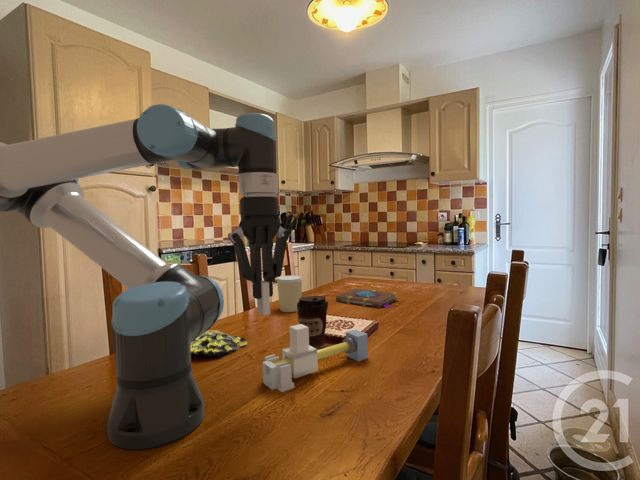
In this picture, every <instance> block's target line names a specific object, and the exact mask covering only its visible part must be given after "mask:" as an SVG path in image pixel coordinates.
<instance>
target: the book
mask: <svg viewBox="0 0 640 480" xmlns="http://www.w3.org/2000/svg"><path fill="white" fill-rule="evenodd" d="M398 295H399V293H398V292H396V291H394V292H393V291H392V292H388V291H382V290H381V291H380V290H378V289H377V288H372V289H365V288H359V287H352V288H351V289H349V290H347V291H345V292H342V293H340V294H337V295H336V296H335V302H336V303H337V302H339V303H343V304H344V303H345V304H347V305H356V306H357V305H358V306H362V307H364V308H365V307H370V308H376V309H382V308H385V309H391V308H394V306H392V305H390V304H391V303H393V302H396V301H398V299H399V298H397V297H396V296H398Z"/></svg>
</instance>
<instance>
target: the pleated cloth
mask: <svg viewBox="0 0 640 480" xmlns="http://www.w3.org/2000/svg"><path fill="white" fill-rule="evenodd" d="M247 345H248V342H247V341H246V339H245V337H242V338H241V337H239V336H237V335H232V334H231V335H229V334H228V333H225V332H223V331H220V330H216V329H215V330H213V329H209V330H207V331H206V332H204V333H203V334H201V335H200V336H199V337H197V338H196V339H195V340H194V341H192V342H191V343H190V348H191V356H192V355H194V356H195V355H200V354H201V355H204V356H207V357H210V358H211V357H213V356H218V357H219V356H224V355H229V354H232V353H234V352H236V351H239V349H242V348H244V347H245V346H247Z"/></svg>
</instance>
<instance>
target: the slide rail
mask: <svg viewBox="0 0 640 480" xmlns="http://www.w3.org/2000/svg"><path fill="white" fill-rule="evenodd" d="M368 335H369V334H368V333H366V332H363V331H361V330H358V329H352V330H349V331H345V338H343V340H342V342H340V343H337V344H333V345H330V346H327V347H322V348H318V349H317V359H318V360H321V359H324V358H328V357H331V356H334V355H336V354H341V353H343V352H345V356H346V357H347V358H350V359H353V360H354V361H356V362H361V361H364V360H367V359H369V345H368V344H369V336H368ZM291 368H292V360H291V358H288V359H285V360H282V359H281V360H280V356H276V354H275V353H273V354H270V355H267V356H264V361H262V383H263V384H264V385H265V386H266V387H268V388H269V389H270V390H271V391H274V390H278V391H279V392H281V393H284V392H288V391H289V390H292V389H295V382H293V380H292V378H293V377H292V374H291Z"/></svg>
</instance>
